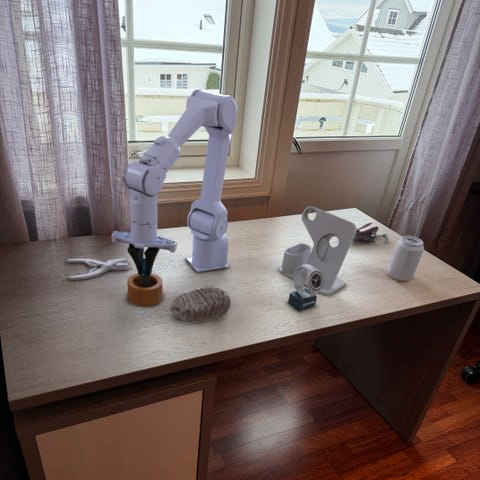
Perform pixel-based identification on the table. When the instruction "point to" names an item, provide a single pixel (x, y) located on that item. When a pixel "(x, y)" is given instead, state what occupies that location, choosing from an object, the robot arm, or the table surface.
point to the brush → (144, 276)
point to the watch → (305, 297)
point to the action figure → (368, 234)
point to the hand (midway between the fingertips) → (144, 273)
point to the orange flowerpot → (145, 291)
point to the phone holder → (321, 249)
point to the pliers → (109, 265)
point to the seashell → (201, 304)
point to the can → (406, 258)
